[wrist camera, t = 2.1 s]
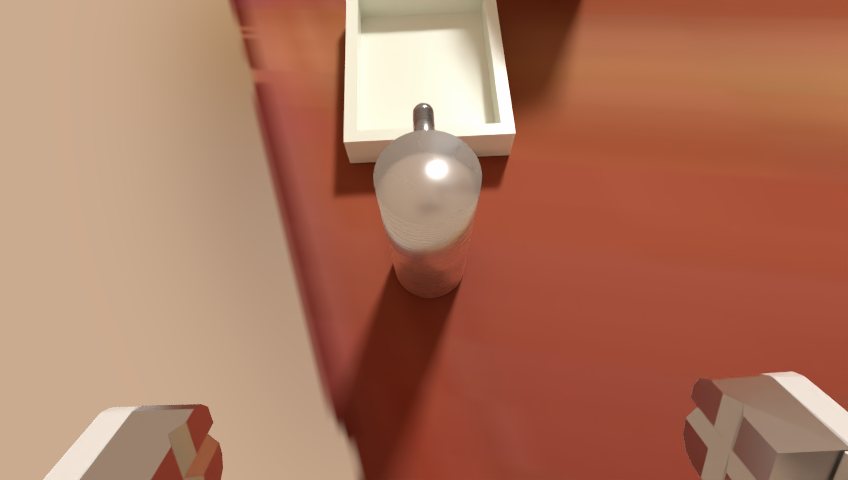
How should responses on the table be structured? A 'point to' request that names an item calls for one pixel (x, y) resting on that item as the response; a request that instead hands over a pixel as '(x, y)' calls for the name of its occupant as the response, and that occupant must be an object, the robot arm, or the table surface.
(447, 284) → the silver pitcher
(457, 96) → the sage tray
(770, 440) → the robot arm
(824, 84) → the table surface
